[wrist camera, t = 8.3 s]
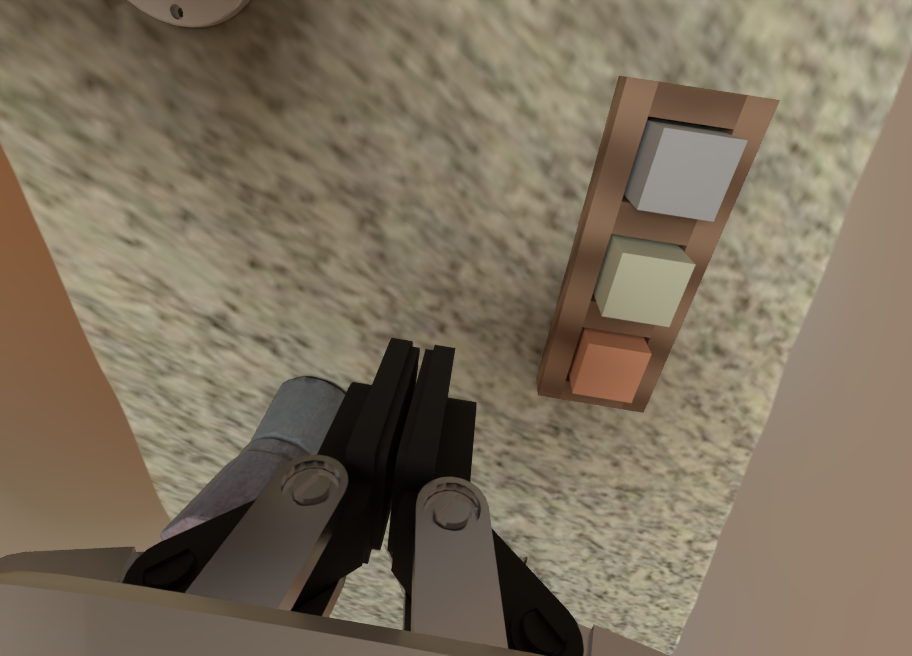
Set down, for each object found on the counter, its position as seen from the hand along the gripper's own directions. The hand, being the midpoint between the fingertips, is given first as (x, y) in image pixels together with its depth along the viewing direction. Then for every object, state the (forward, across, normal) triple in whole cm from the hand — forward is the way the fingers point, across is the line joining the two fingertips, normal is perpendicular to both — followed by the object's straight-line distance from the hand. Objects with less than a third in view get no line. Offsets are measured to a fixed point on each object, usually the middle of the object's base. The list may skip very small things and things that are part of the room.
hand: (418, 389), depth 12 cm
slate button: (+25, -13, -3) cm, 29 cm away
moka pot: (+27, +13, +26) cm, 40 cm away
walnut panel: (+27, -13, +5) cm, 30 cm away
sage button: (+25, -13, +5) cm, 29 cm away
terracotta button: (+26, -13, +13) cm, 32 cm away
